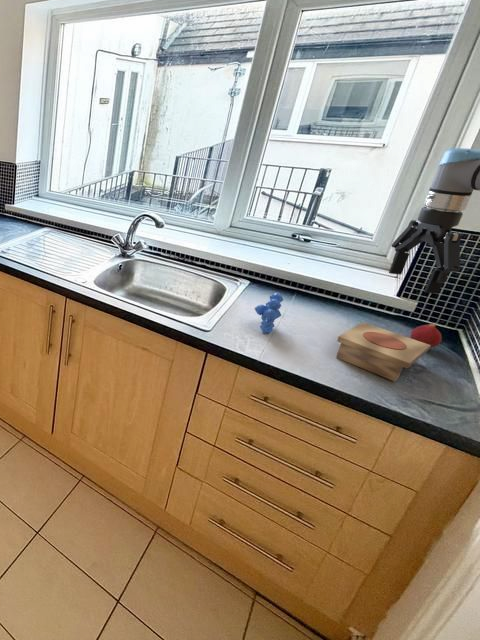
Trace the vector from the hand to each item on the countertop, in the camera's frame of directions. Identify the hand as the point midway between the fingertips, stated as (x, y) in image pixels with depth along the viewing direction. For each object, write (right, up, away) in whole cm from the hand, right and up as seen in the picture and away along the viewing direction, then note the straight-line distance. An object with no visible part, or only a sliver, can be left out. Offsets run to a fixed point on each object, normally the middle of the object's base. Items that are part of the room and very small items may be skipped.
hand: (411, 282), depth 118 cm
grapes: (-36, -15, +9) cm, 40 cm away
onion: (+3, -19, 0) cm, 19 cm away
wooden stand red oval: (-16, -20, -6) cm, 26 cm away
